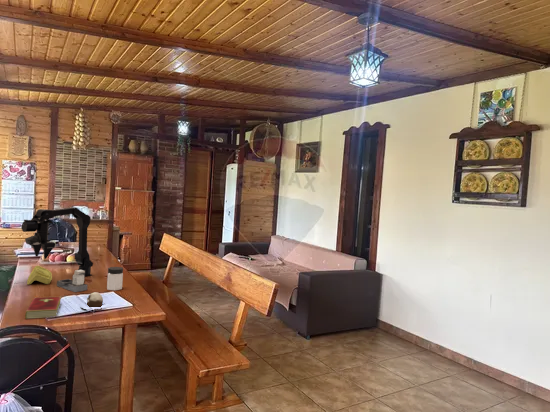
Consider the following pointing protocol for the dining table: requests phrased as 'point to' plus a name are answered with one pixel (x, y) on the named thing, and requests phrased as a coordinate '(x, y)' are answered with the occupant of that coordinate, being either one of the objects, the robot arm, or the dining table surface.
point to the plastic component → (40, 275)
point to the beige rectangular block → (79, 272)
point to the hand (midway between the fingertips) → (40, 257)
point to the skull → (95, 300)
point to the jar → (115, 278)
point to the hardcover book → (43, 307)
